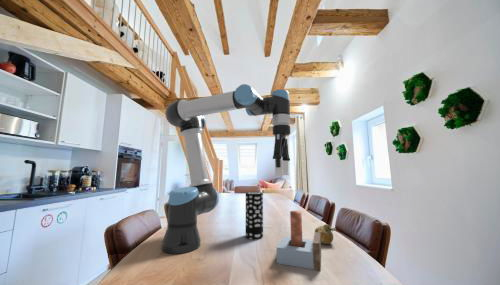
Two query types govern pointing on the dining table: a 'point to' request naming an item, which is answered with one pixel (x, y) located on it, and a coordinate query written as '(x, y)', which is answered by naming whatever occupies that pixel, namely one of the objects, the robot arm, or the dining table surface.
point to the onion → (325, 233)
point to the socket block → (295, 253)
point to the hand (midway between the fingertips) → (282, 175)
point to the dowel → (296, 228)
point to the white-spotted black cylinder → (254, 215)
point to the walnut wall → (317, 251)
